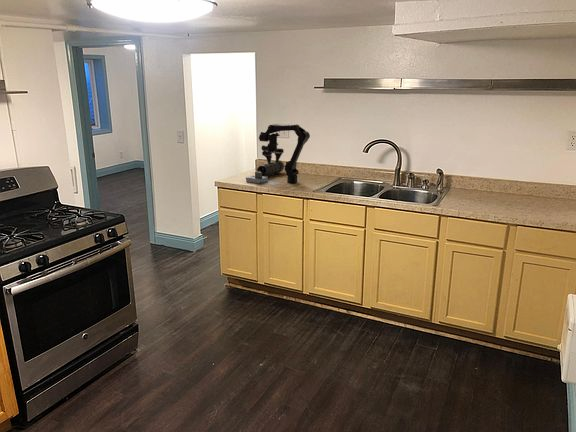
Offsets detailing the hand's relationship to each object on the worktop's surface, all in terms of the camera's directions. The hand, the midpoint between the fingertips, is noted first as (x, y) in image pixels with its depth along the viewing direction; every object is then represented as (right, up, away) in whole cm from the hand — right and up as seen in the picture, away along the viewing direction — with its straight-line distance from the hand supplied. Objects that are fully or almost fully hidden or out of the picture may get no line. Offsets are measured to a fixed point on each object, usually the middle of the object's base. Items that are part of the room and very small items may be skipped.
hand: (273, 163), depth 346 cm
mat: (0, -15, -6) cm, 16 cm away
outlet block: (-12, -14, -2) cm, 18 cm away
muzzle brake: (-2, -7, +24) cm, 25 cm away
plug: (-10, -13, -3) cm, 17 cm away
